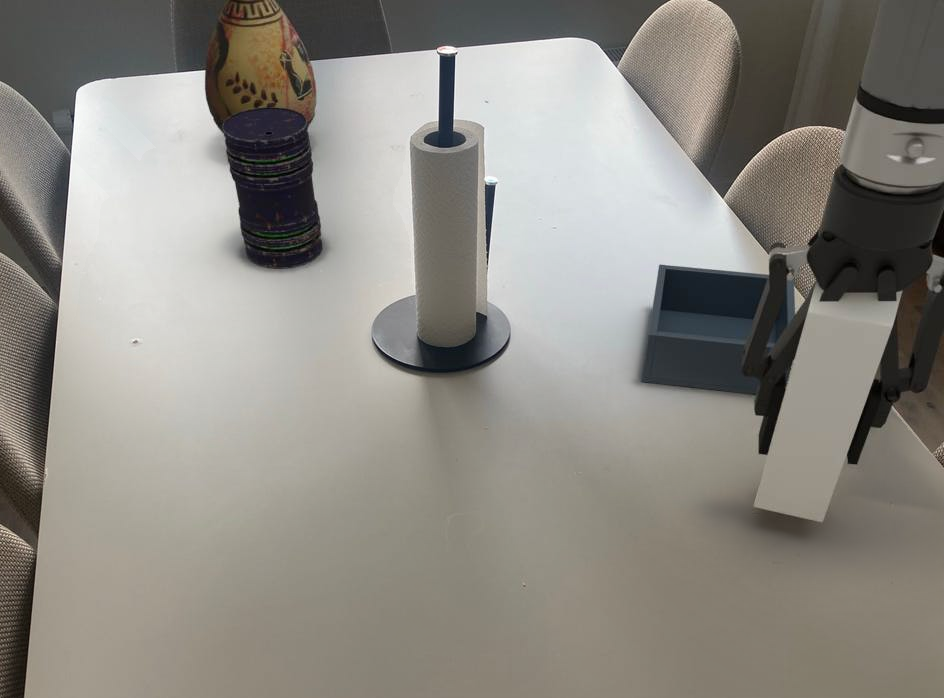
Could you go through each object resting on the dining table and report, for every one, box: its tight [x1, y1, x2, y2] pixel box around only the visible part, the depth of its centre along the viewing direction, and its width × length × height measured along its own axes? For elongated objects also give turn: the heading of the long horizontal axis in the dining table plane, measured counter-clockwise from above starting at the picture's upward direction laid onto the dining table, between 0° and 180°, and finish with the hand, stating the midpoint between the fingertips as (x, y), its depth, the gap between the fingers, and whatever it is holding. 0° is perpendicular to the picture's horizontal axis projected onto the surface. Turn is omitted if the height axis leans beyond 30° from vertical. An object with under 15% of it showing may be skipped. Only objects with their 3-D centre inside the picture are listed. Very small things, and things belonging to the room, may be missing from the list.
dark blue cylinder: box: [222, 107, 324, 270], centre depth 114 cm, size 10×10×15 cm
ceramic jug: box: [204, 0, 317, 135], centre depth 128 cm, size 17×15×30 cm
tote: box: [641, 264, 796, 395], centre depth 101 cm, size 15×15×6 cm
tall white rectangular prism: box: [753, 280, 904, 523], centre depth 76 cm, size 6×6×22 cm
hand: (806, 449), depth 80 cm, fingers closed on tall white rectangular prism, 7 cm apart
